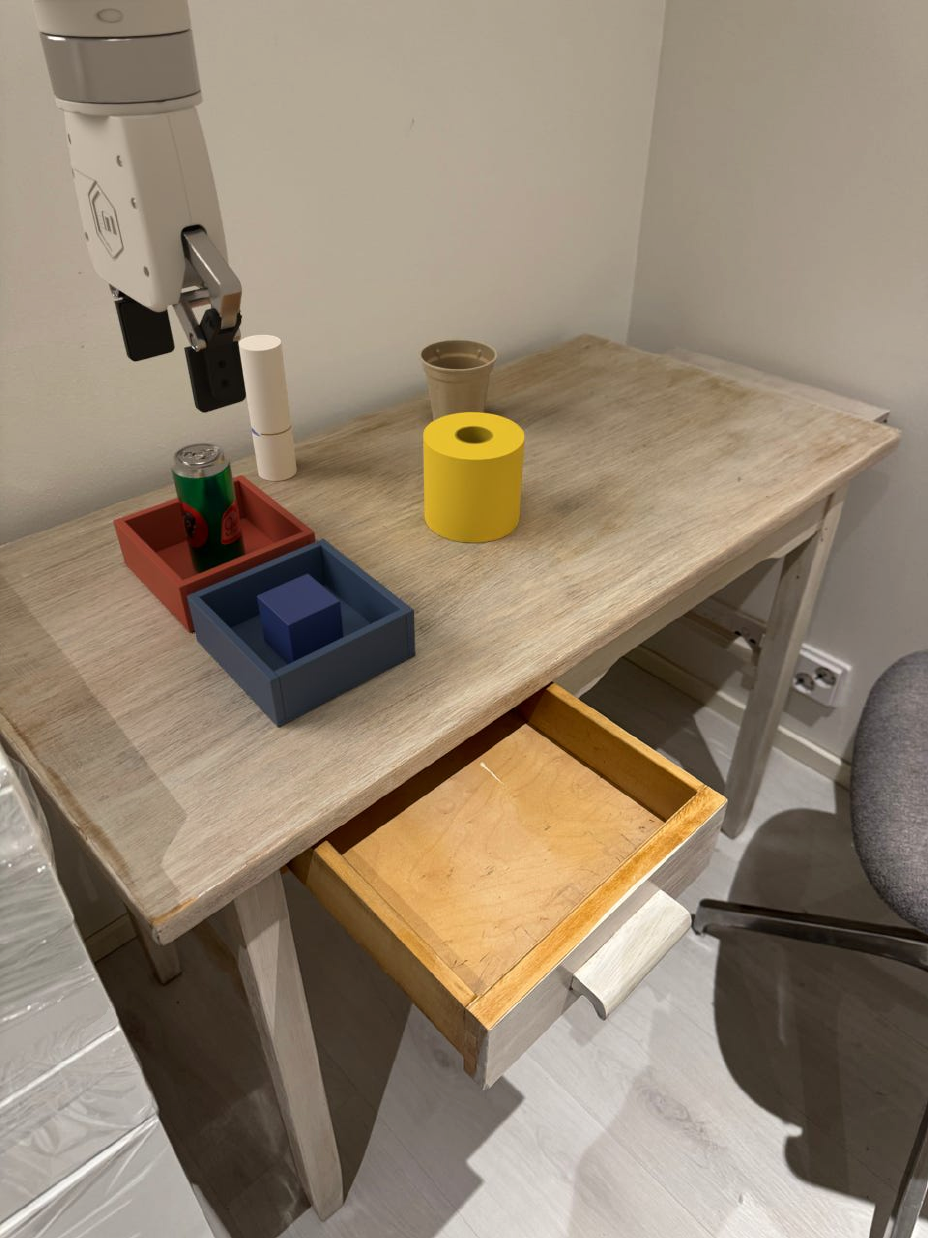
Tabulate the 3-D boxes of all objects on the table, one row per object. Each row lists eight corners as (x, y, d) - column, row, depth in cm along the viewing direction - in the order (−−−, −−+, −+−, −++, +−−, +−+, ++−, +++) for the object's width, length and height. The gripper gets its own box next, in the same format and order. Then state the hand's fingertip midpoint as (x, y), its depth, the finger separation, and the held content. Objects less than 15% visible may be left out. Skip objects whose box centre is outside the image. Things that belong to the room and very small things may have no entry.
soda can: (241, 581, 84) (221, 468, 76) (187, 580, 84) (161, 467, 76) (251, 550, 88) (233, 440, 80) (200, 550, 88) (177, 439, 80)
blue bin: (278, 728, 70) (270, 681, 67) (196, 641, 78) (186, 595, 75) (415, 655, 77) (414, 609, 74) (327, 582, 85) (323, 538, 82)
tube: (303, 465, 102) (288, 337, 92) (285, 483, 99) (268, 353, 89) (270, 459, 103) (251, 332, 94) (251, 477, 100) (230, 347, 90)
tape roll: (538, 525, 93) (544, 443, 87) (455, 552, 89) (455, 469, 83) (487, 482, 99) (489, 404, 93) (407, 506, 95) (405, 426, 89)
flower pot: (405, 425, 110) (402, 358, 105) (446, 397, 116) (446, 332, 111) (470, 445, 106) (471, 376, 101) (508, 415, 112) (512, 348, 107)
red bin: (189, 633, 79) (178, 587, 76) (124, 563, 87) (112, 520, 84) (319, 575, 86) (314, 531, 82) (248, 516, 94) (241, 474, 90)
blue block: (294, 671, 74) (288, 625, 71) (264, 641, 77) (256, 595, 74) (345, 646, 77) (340, 600, 74) (313, 618, 80) (307, 573, 77)
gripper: (-4, 58, 50) (76, 352, 61) (126, 103, 40) (194, 446, 51) (124, 48, 54) (178, 326, 65) (272, 86, 44) (307, 409, 55)
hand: (185, 379), depth 58 cm, fingers open, 9 cm apart
